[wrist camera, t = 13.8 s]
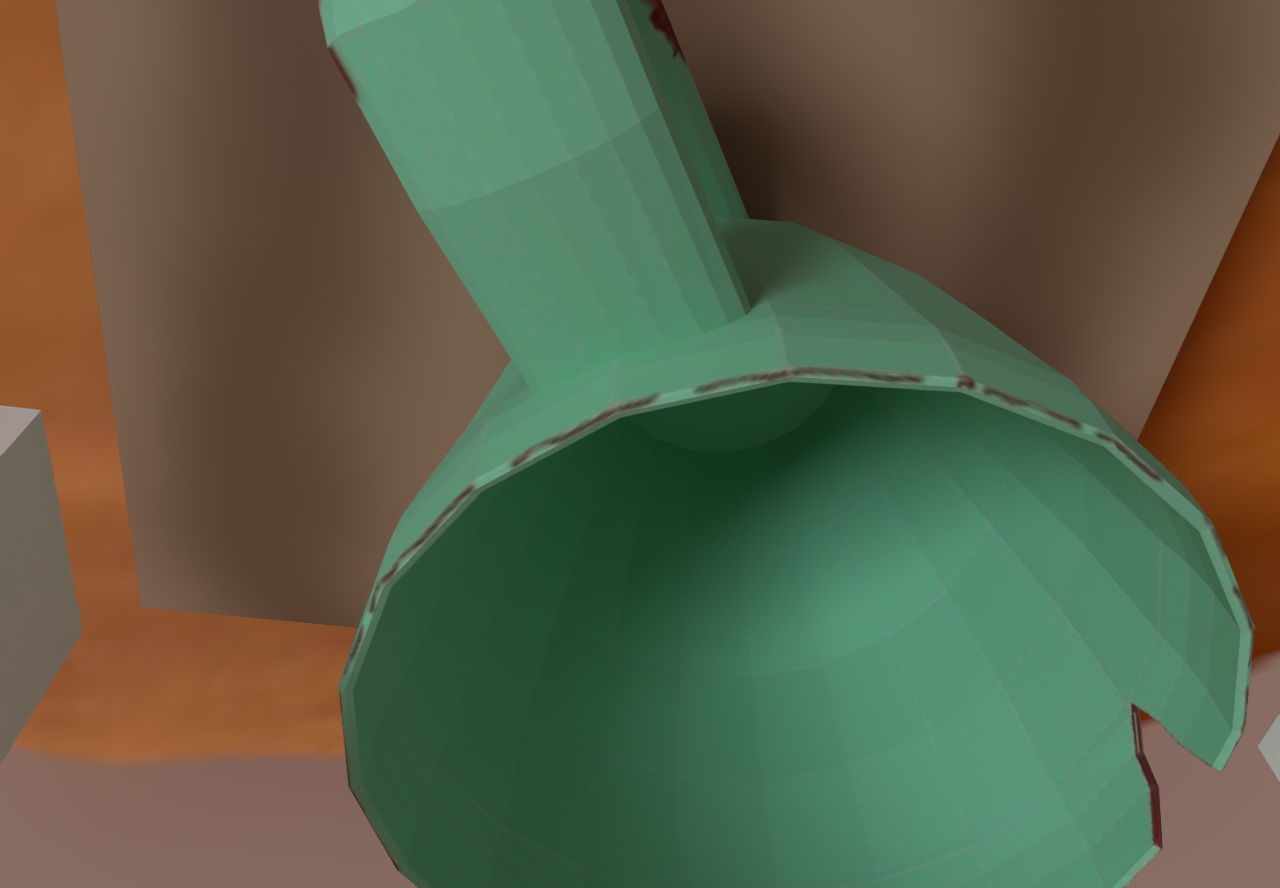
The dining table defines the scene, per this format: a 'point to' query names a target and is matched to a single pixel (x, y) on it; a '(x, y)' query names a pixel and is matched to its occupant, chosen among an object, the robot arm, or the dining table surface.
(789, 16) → the plinth
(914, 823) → the mug
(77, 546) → the dining table surface
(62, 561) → the robot arm
